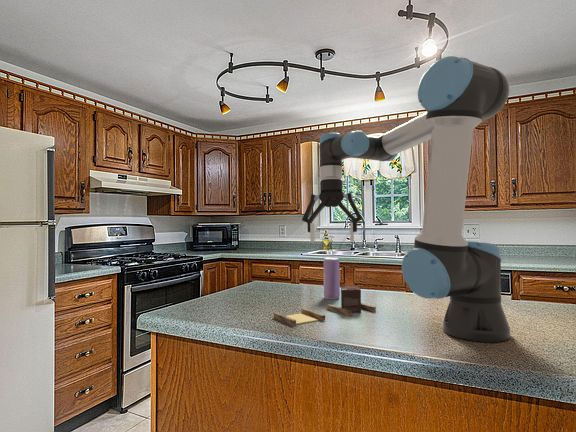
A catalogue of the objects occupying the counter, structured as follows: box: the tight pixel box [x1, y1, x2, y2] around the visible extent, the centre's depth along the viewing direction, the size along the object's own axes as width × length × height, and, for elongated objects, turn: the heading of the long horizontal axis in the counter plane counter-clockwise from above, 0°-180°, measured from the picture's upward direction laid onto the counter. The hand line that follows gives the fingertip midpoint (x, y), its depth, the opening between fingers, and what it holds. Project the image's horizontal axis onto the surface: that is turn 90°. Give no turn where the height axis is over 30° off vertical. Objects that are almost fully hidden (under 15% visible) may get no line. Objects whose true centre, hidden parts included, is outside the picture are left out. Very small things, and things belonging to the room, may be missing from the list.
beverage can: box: [323, 257, 341, 300], centre depth 139 cm, size 6×6×15 cm
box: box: [340, 286, 362, 313], centre depth 119 cm, size 6×6×7 cm
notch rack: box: [273, 302, 377, 327], centre depth 114 cm, size 11×31×2 cm, turn 121°
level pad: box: [286, 312, 319, 326], centre depth 109 cm, size 9×8×1 cm
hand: (332, 242), depth 124 cm, fingers open, 13 cm apart
